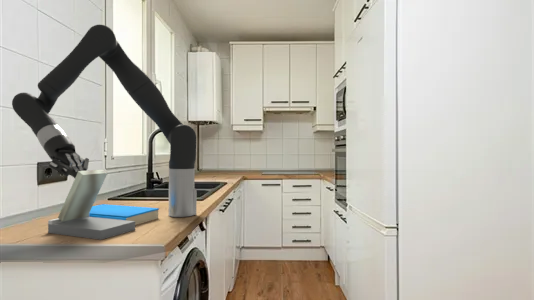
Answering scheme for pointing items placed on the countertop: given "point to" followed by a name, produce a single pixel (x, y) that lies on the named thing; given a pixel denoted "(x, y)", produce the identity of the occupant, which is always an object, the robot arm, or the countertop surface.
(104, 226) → the board
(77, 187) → the silver flat block
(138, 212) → the book
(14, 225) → the countertop surface
